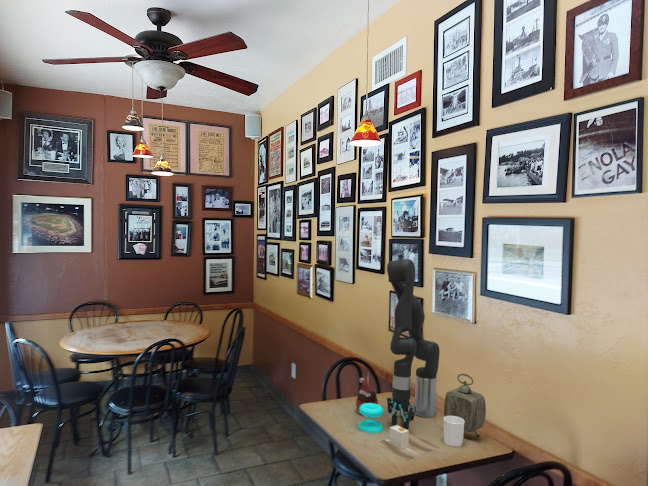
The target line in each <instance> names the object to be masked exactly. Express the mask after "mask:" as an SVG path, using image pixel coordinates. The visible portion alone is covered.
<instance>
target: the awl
mask: <svg viewBox="0 0 648 486" xmlns="http://www.w3.org/2000/svg"><path fill="white" fill-rule="evenodd" d="M403 421H404V419H403V416H402V414H401V412H400V411H399V415H397V424H396V425H398V426H400V427H402V428H403Z"/></svg>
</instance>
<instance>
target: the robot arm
mask: <svg viewBox="0 0 648 486" xmlns="http://www.w3.org/2000/svg"><path fill="white" fill-rule="evenodd" d="M386 272H387V276H388V279H389V281H390V283H391V285H392V289H393V290H394V291H393V292H395V295H396V299H397V300H398V302H397V303H396V306H395V308H394V328H393V334H392V338H391V341H390V344H389V345H390V346H389V347H390V351H391V353H392V354H393V355H397V356H398V355H399V356H400V355H401V356H404V358H403V357H402V358H401V359H400V358H399V359H397V360H394V363H393V376H392V390H391V391H392V392H391V396H390V397H387V398H386V402H387V412H388V413H389V414H390V415H391V425H392V426H396V425H397V416H398V415H397V414H398V412H399V413H400V412H401V414H402V416H403V419H404V421H403V428H404V429H406V430H408V431H409V429H410V422H413V421H414V420H415V415H417V416H419V417H421V418H432V417H433V418H434V417H435V415H436V414H437V401H438V399H437V398H438V393H437V375H438V371H439V363H440V346H439V344H438V342H434V341H431V340H426V339H425V338H424V336H423V334H422V327H423V324H424V322H425V320H426V319H425V318H426V316H425V312H424V308H423V305H422V302H421V301H420V300H419V299H418V297H416V296H415V294H414V289H415V281H416V266H415V263H414V262H413V260H412V259H410V258H408V259H407V258H405V259H397V260H391V261H390V260H389V261H388V263H387V265H386ZM406 332H408V336H409V337H406V336H405V337H402V336H401V334H402V333H406ZM414 357H415V358H416V359H417V360H420V361H423V362H425V364H424V366H420V367H417V368H416V370H415V384H414V385H415V388H414V389H415V390H414V406H413V405H412V404H411V402H410V399H411V396H412V366H413V362H414Z"/></svg>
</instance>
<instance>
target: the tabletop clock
mask: <svg viewBox="0 0 648 486" xmlns="http://www.w3.org/2000/svg"><path fill="white" fill-rule="evenodd" d="M457 375H458V376H457V381H458V382H459V383H461V385H459V387H457V388H454V389H451V390H449V391H446V394H445V398H444V405H443V410H444V411H443V418H444V417H445V416H457V417H460V418H462V419H464V421H465V424H464V432H468V433H474V435H475V437H476V439H480V438H481V435H480V434H479V433H478V432H477V431H478V430H480V429H483V427H484V424H485V422H486V414H487V407H486V406H487V405H486V400H485V396H484V395H483V394H481V393H480V392H477V391H474V390H472V389H471V387H470V386H471V385H473V384H474V379H473V377H472V376H471V375H468V374H467V373H466V374H465V373H460V374H457ZM461 376H465V377H467V378H469V379H470V380H471V383H467V381H466V380H463V381H462V380H460V377H461Z"/></svg>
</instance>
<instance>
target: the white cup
mask: <svg viewBox="0 0 648 486" xmlns="http://www.w3.org/2000/svg"><path fill="white" fill-rule="evenodd" d="M464 424H465V421H464V419H462V418H460V417H457V416H445V417H444V416H443V428H442V429H443V442H444V443H445V444H446V445H448V446H450V447H461V446H462V445H463V442H464V441H463V440H464V433H465V431H464Z"/></svg>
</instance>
